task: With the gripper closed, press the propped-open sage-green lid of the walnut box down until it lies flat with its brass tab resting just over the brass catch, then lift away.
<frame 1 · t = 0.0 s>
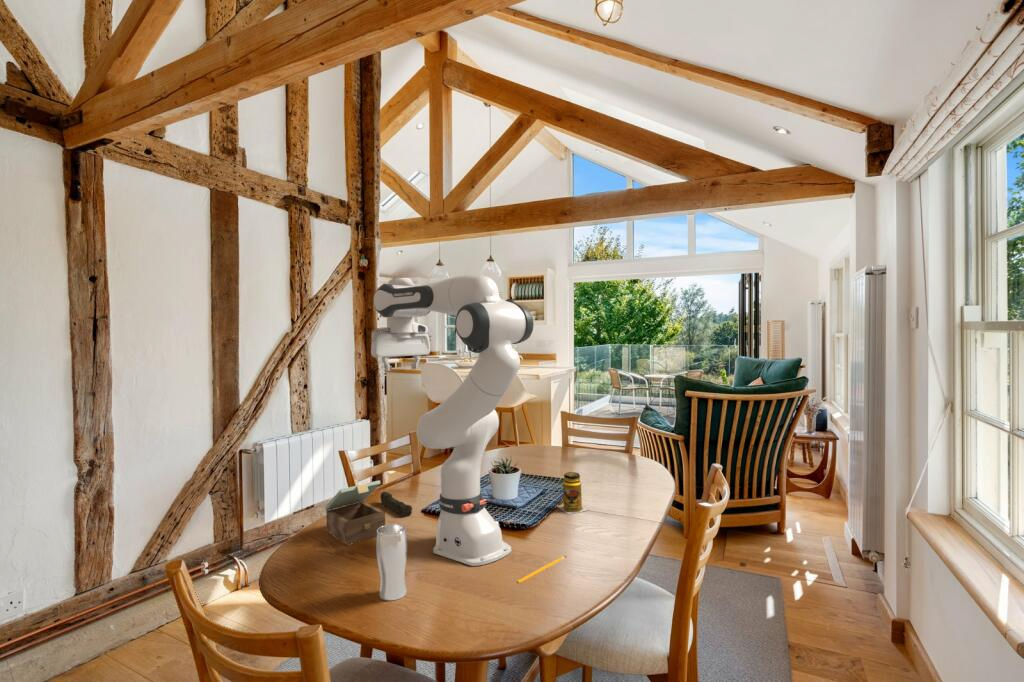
hand: (401, 370, 164), 48 cm above the table, tool pointing down, fingers open, 8 cm apart
dark brown rough bar: (392, 511, 171), on the table
lid: (354, 497, 152), point 11 cm above the table, hinge at 35.0°
beer glass: (393, 594, 115), on the table
pencil: (542, 571, 126), on the table
box: (356, 532, 151), on the table
condiment: (571, 509, 168), on the table
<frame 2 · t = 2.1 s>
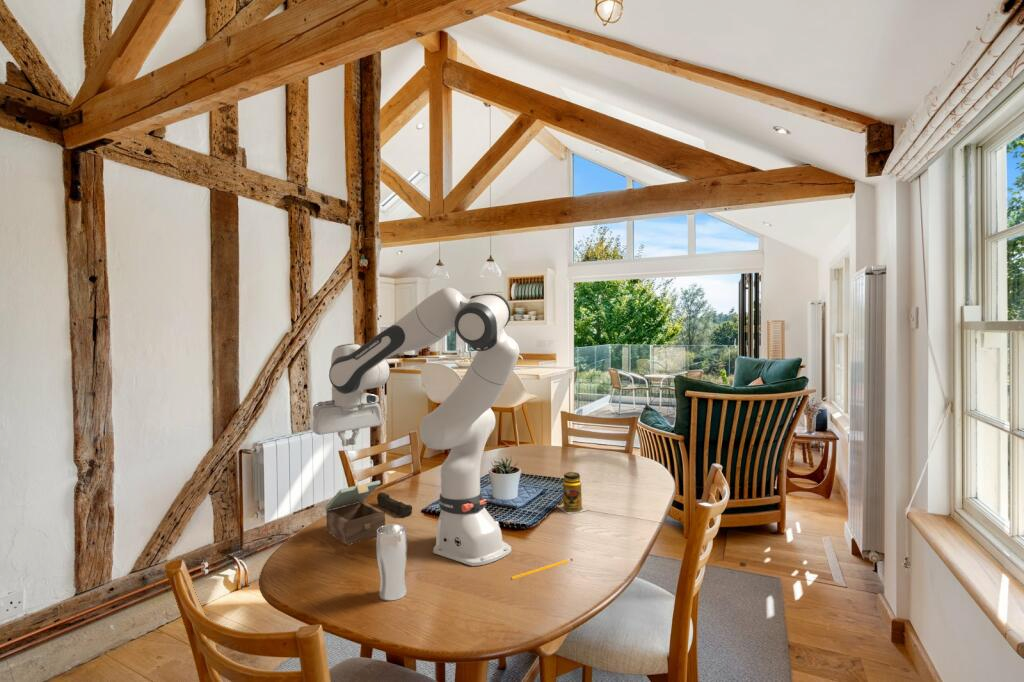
hand: (348, 445, 149), 27 cm above the table, tool pointing down, fingers closed
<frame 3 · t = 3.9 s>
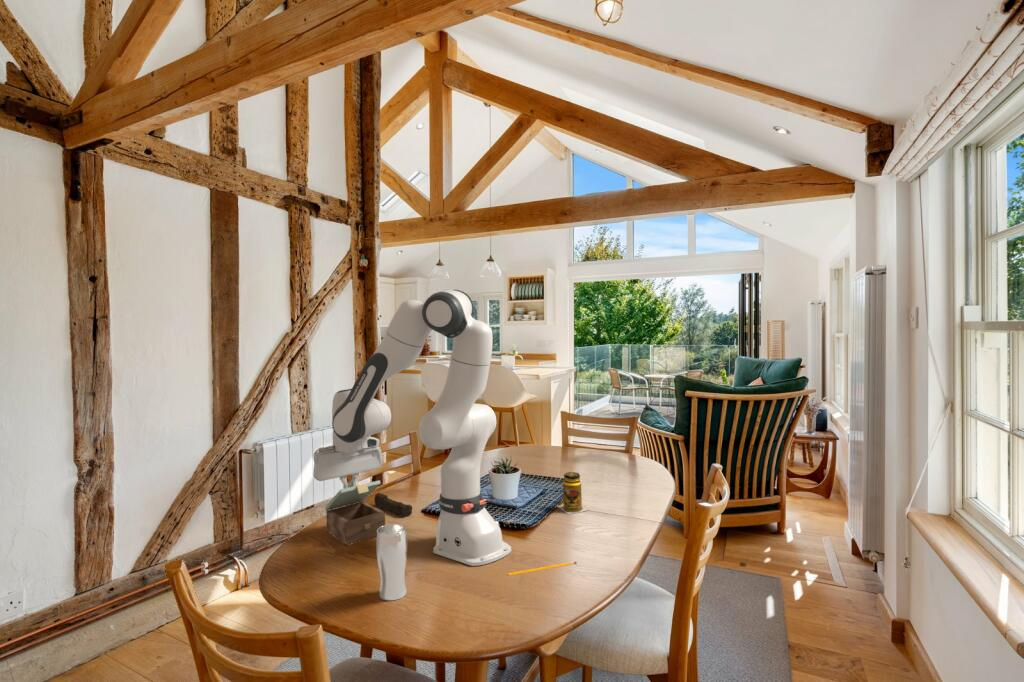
hand: (349, 489, 149), 14 cm above the table, tool pointing down, fingers closed, pressing on lid
lid: (354, 497, 152), point 11 cm above the table, hinge at 34.9°, touching gripper
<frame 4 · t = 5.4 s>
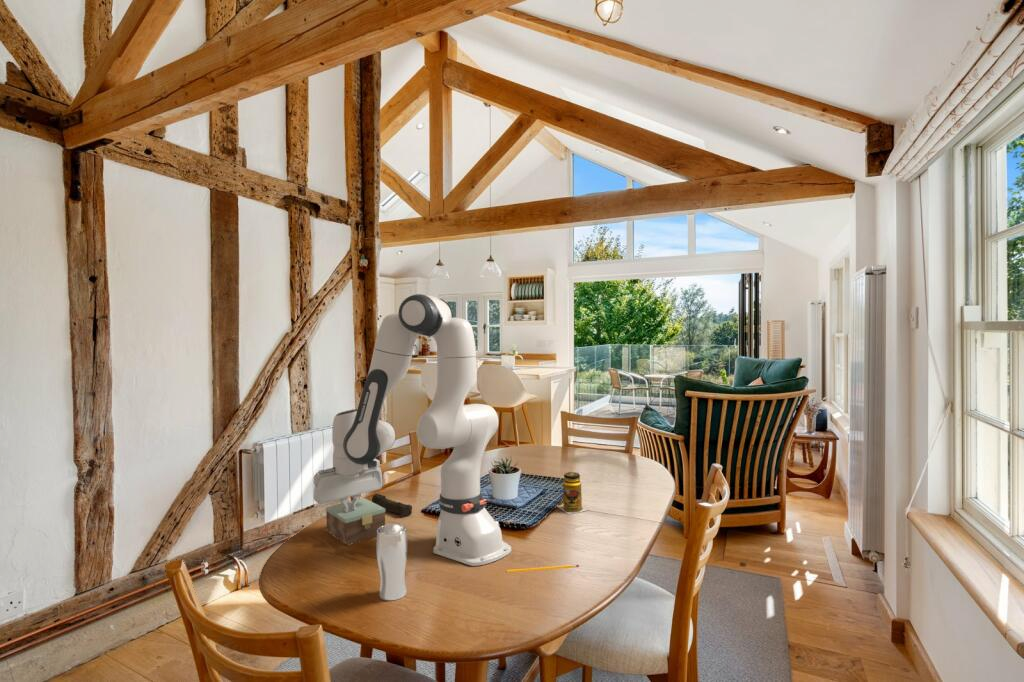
hand: (349, 510, 149), 8 cm above the table, tool pointing down, fingers closed, pressing on lid
lid: (356, 512, 151), point 6 cm above the table, hinge at -0.4°, touching box, gripper
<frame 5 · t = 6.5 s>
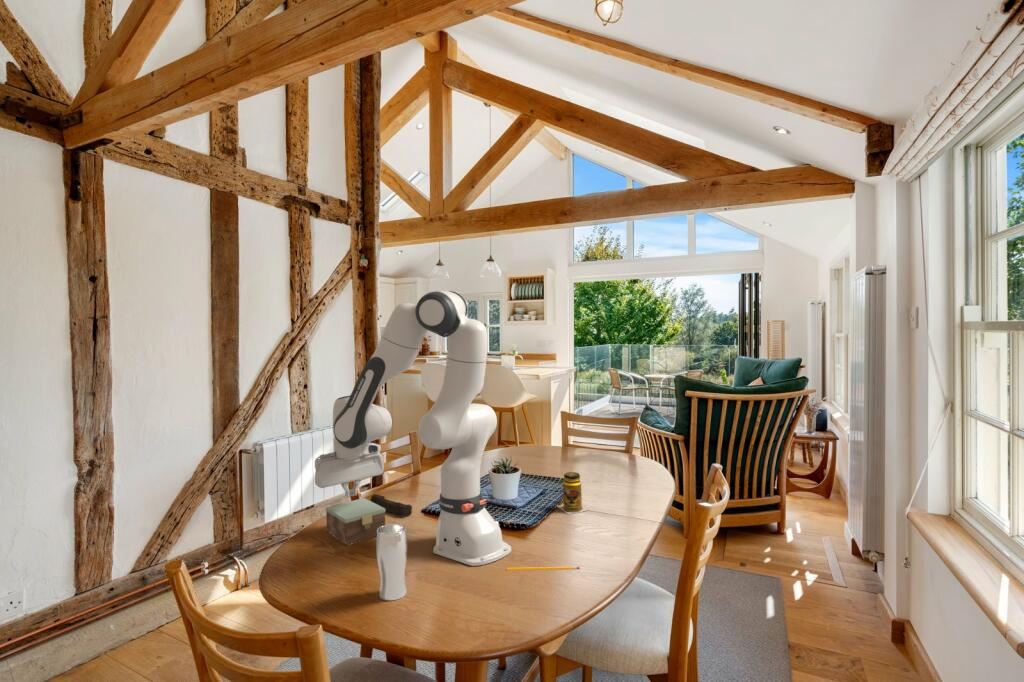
hand: (351, 495, 149), 12 cm above the table, tool pointing down, fingers closed
lid: (356, 512, 151), point 6 cm above the table, hinge at -0.4°, touching box
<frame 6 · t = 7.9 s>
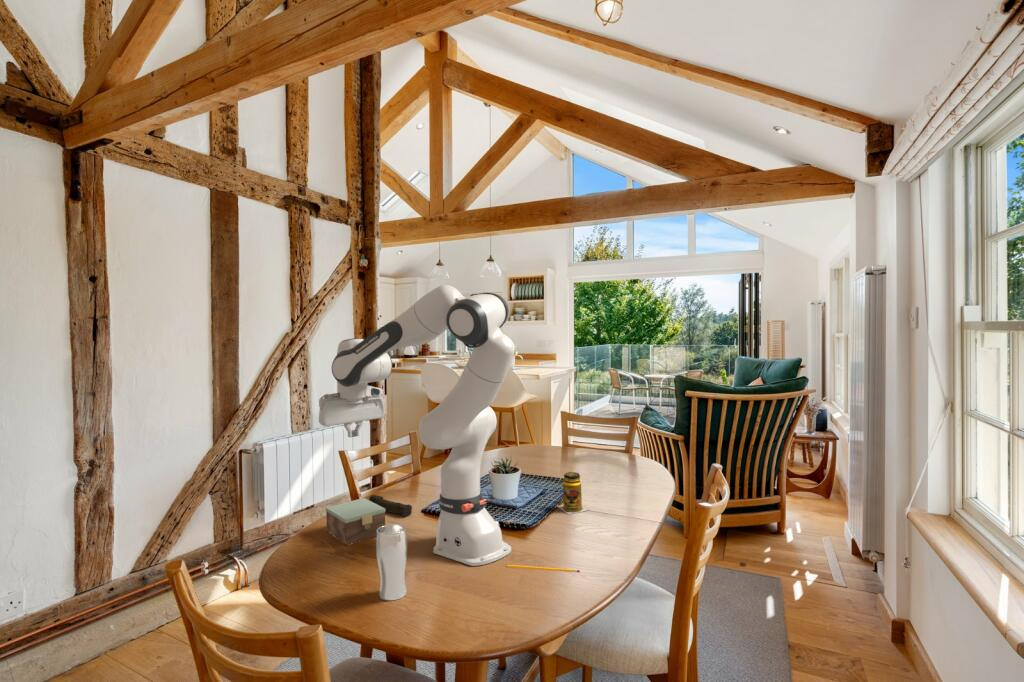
hand: (353, 436, 154), 29 cm above the table, tool pointing down, fingers closed
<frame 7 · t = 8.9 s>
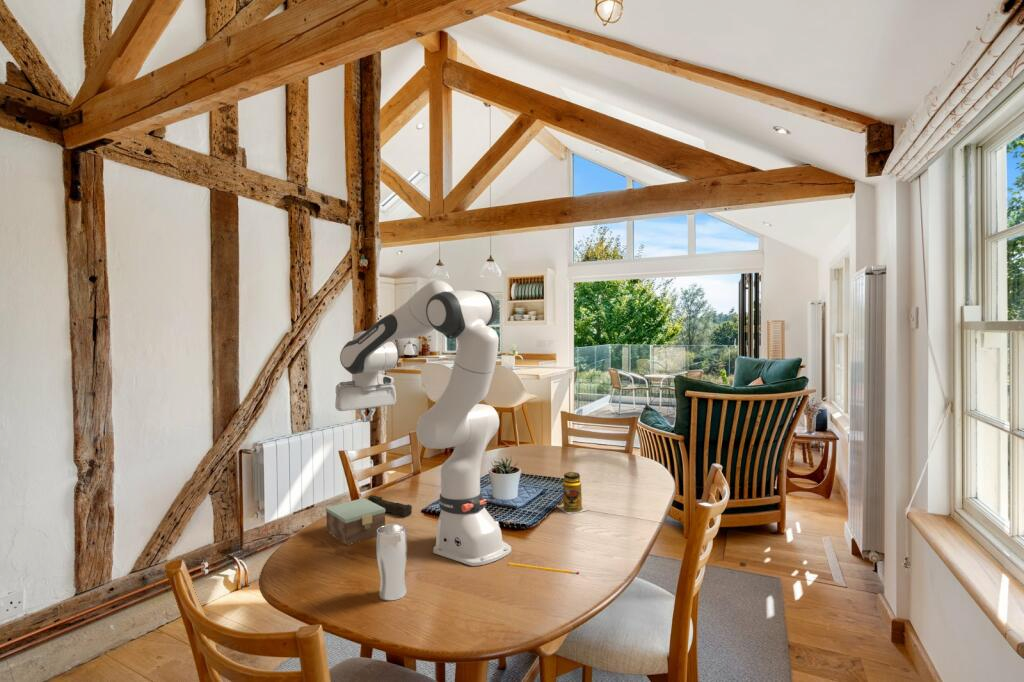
hand: (367, 421, 166), 31 cm above the table, tool pointing down, fingers closed
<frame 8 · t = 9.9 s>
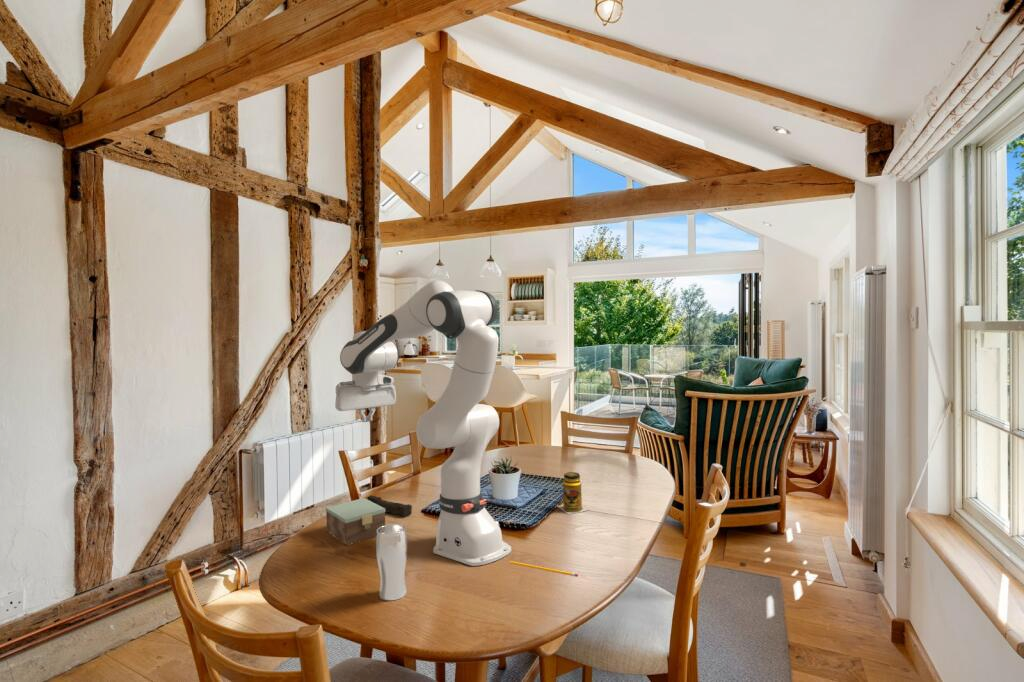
hand: (367, 421, 166), 31 cm above the table, tool pointing down, fingers closed
at the end: lid at +0° (first picture: +35°); dark brown rough bar moved 2.9 cm from its start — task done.
